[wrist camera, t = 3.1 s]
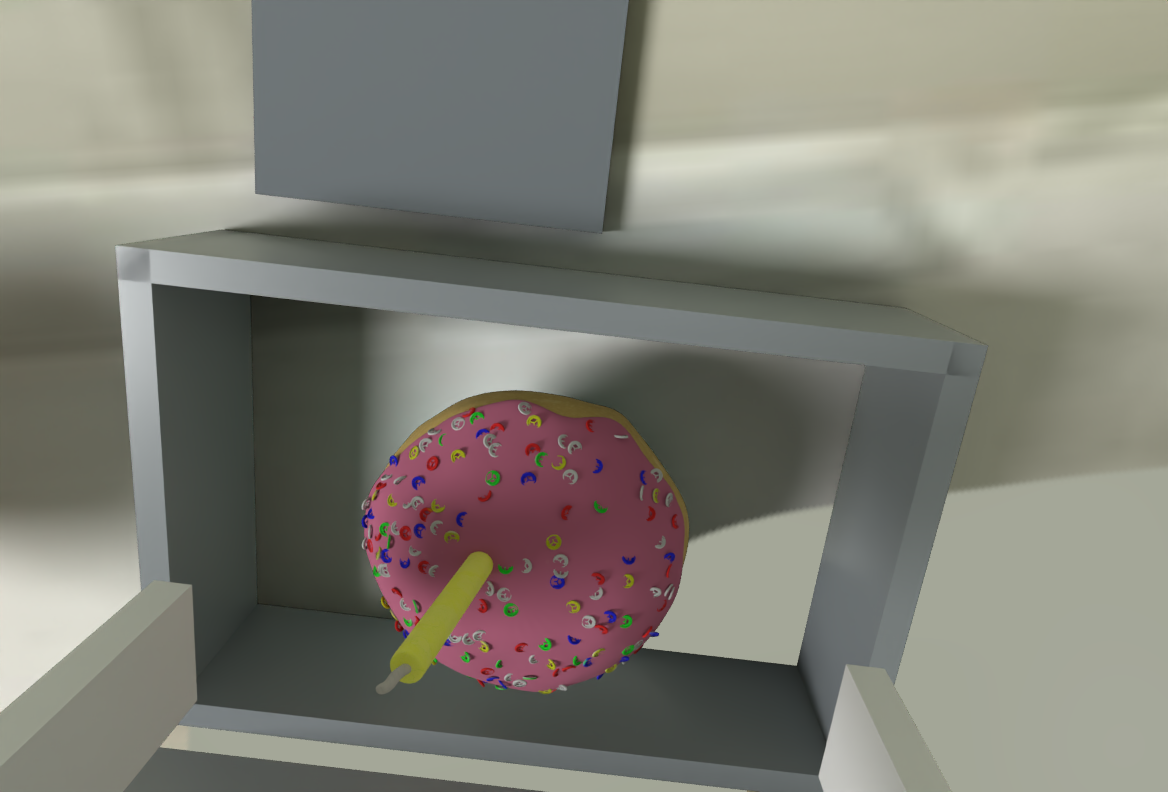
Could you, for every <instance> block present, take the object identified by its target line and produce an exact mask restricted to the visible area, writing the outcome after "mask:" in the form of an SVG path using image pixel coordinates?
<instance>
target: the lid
mask: <svg viewBox="0 0 1168 792" xmlns="http://www.w3.org/2000/svg"><path fill="white" fill-rule="evenodd" d="M123 792H543V791H534V790H525V789H517V788H508V787H500V786H491V785H482V784H473V783H465V782H456V781H447V780H439V779H429V778H421V777H413V776H404V775H395V774H387V773H378V772H369V771H360V770H352V769H343V768H334V767H325V766H317V765H308V764H299V763H291V762H282V761H273V760H265V759H256V758H247V757H239V756H229V755H221V754H213V753H204V752H195V751H186V750H178V749H169V748H160V747H159V748H158V749H157V751H156V752H155V753H154V754H153V755H152V757H151V758H150V759H149V760H148V762H147V763H146V764H145V765H144V767H143V768H142V769H141V770H140V772H139V773H138V774H137V775H136V776H135V778H134V779H133V780H132V781H131V783H130V784H129V785H128V786H127V788H126V789H125V790H124V791H123Z"/></svg>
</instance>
